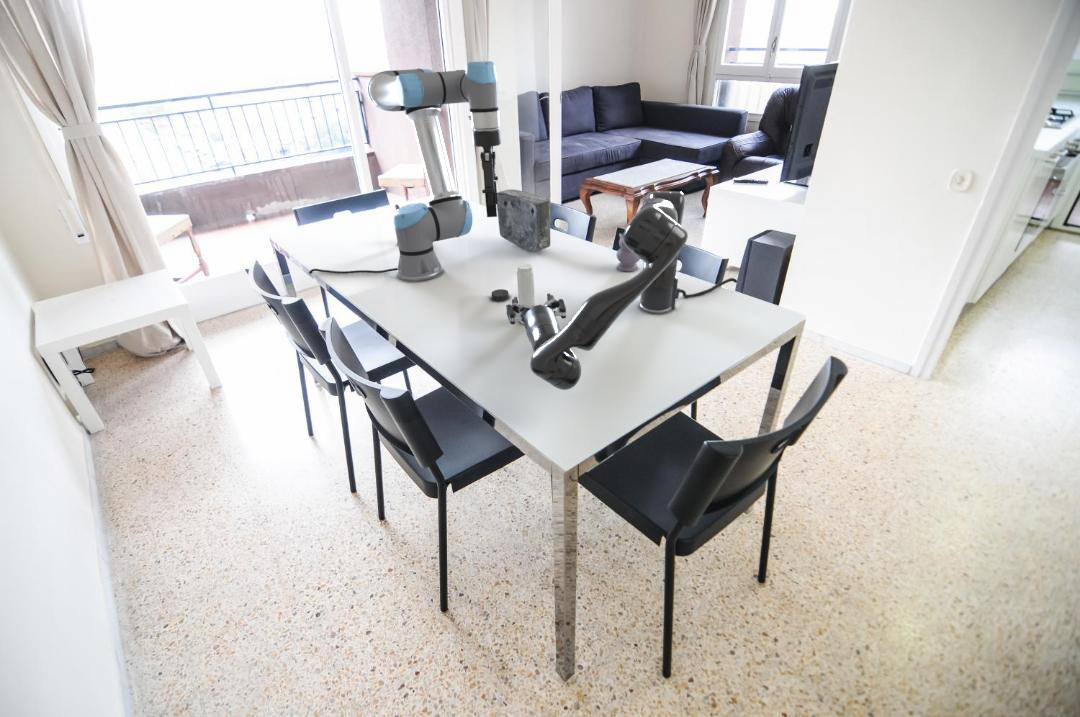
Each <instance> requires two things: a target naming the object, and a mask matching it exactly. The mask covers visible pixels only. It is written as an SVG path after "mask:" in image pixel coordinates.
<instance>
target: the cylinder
mask: <svg viewBox="0 0 1080 717" xmlns="http://www.w3.org/2000/svg"><path fill="white" fill-rule="evenodd" d="M533 268H534V267H533V265H532V264H531V263H521V264H518V265H517V271H516V280H517V281H516V282H517V299H518V302H519V304H526V305H528V306H536V296H535V293H536V292H535V274H534V270H533ZM519 322H520V324H522V325H524V322H522V321H521V320H519Z"/></svg>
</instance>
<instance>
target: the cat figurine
mask: <svg viewBox="0 0 1080 717" xmlns="http://www.w3.org/2000/svg"><path fill="white" fill-rule="evenodd" d="M618 236H619V241H618V245H619V247H620V248H619V249H618V250H617V252H616V258H617V260H618V266H617V267H618V270H619V271H623V272H635V271H636V270H637V268H638V264H637V263H638V262H639V261H640V260H641V259H640V258H639V257H638V256H637V255H635V254H634V253H633V252H631V251H630V250H629V249H628V248H627V247H626V246H625V244H624V243H623V233H620V232H618Z"/></svg>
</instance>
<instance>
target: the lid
mask: <svg viewBox="0 0 1080 717" xmlns="http://www.w3.org/2000/svg"><path fill="white" fill-rule="evenodd" d="M509 292H510V291H508V290H507V289H504V288H500V289H495V290H493V291H491V300H492V301H494V302H499V303H500V302H506V301H507V300H509V298H510V293H509Z"/></svg>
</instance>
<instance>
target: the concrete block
mask: <svg viewBox="0 0 1080 717" xmlns="http://www.w3.org/2000/svg"><path fill="white" fill-rule="evenodd" d="M497 201H498V204H496V210H497V221H498V230H499V235H500V237H501V238H503V239H505V240H506V241H508V242H509V243H511V244H513V245H515V246H517V247H519V248H520V249H523V250H526V251H530V252H540V251H542V250H545V249H547V248H549V247H551V200H550V199H549V198H546V197H544V196H541V195H538V194H535V193H531V192H528V191H523V190H519V189H511V188H510V189H505V190H500V191H497Z"/></svg>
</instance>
